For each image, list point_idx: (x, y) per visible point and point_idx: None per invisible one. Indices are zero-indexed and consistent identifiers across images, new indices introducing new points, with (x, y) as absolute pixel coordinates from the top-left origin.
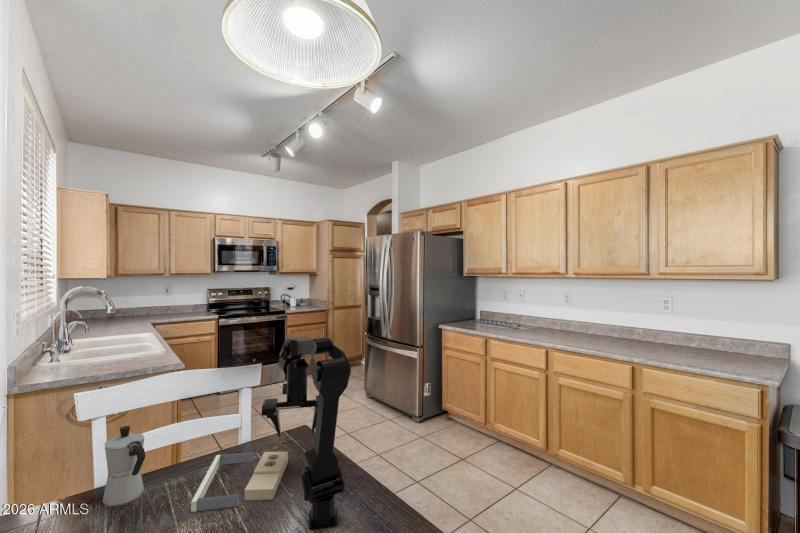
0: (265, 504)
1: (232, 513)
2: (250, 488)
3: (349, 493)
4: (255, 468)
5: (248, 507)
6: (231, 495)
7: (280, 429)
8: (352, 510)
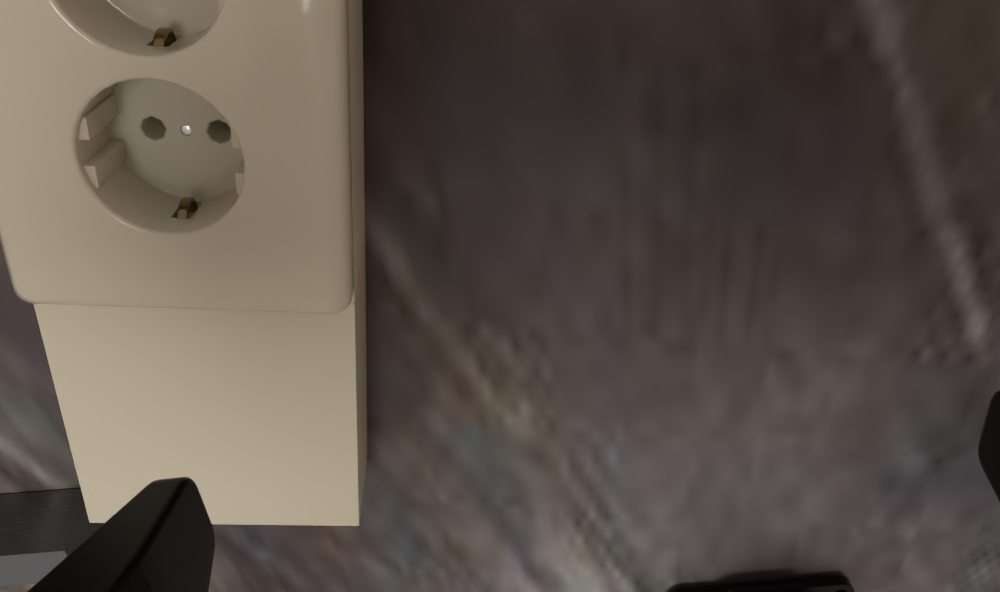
0: None
1: None
2: None
3: None
4: (5, 253)
5: None
6: (7, 561)
7: (142, 581)
8: (949, 586)
